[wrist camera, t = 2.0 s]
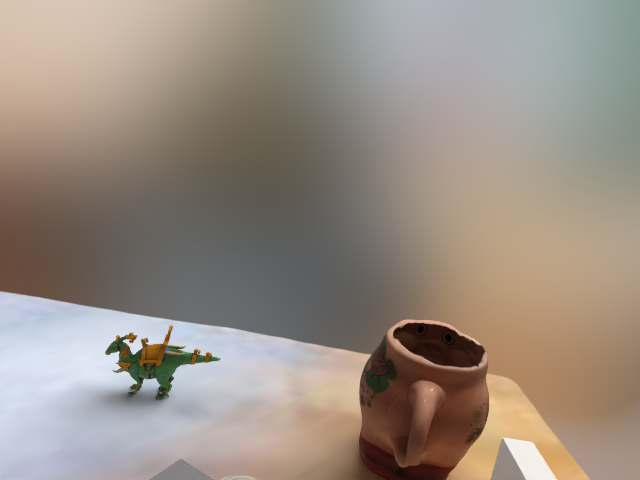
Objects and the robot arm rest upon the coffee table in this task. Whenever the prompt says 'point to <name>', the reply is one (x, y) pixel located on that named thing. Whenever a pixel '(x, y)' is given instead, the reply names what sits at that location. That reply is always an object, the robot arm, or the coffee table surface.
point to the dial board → (181, 472)
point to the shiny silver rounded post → (238, 478)
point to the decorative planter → (422, 400)
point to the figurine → (154, 361)
